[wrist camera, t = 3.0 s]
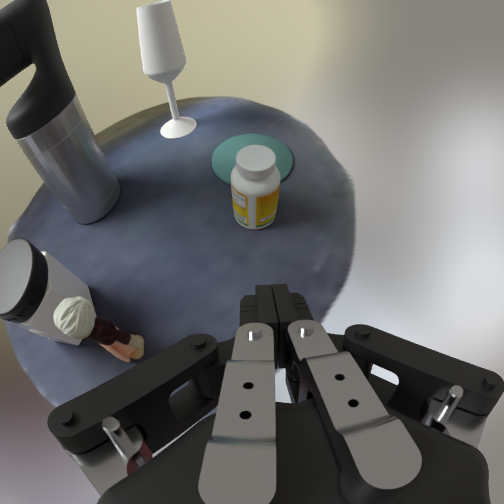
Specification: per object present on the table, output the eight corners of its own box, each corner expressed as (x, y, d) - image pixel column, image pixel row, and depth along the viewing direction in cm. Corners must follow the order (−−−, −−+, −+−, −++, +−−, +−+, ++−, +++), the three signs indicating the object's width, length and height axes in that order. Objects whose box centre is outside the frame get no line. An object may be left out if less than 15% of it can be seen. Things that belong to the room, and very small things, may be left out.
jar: (42, 340, 26) (-23, 310, 15) (53, 283, 30) (-3, 239, 19) (93, 350, 26) (24, 322, 15) (102, 285, 30) (46, 235, 19)
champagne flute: (159, 142, 42) (125, 13, 21) (160, 121, 45) (133, 7, 24) (198, 133, 43) (177, 0, 21) (195, 114, 46) (177, -4, 24)
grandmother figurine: (101, 358, 26) (26, 331, 14) (104, 326, 27) (35, 285, 16) (162, 366, 26) (101, 347, 14) (164, 332, 27) (109, 291, 16)
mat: (197, 176, 38) (196, 174, 37) (232, 129, 43) (232, 127, 43) (276, 199, 35) (277, 197, 35) (301, 146, 41) (302, 144, 40)
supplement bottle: (230, 228, 33) (222, 172, 25) (238, 194, 36) (234, 138, 27) (274, 233, 33) (280, 178, 25) (278, 199, 36) (284, 143, 27)
